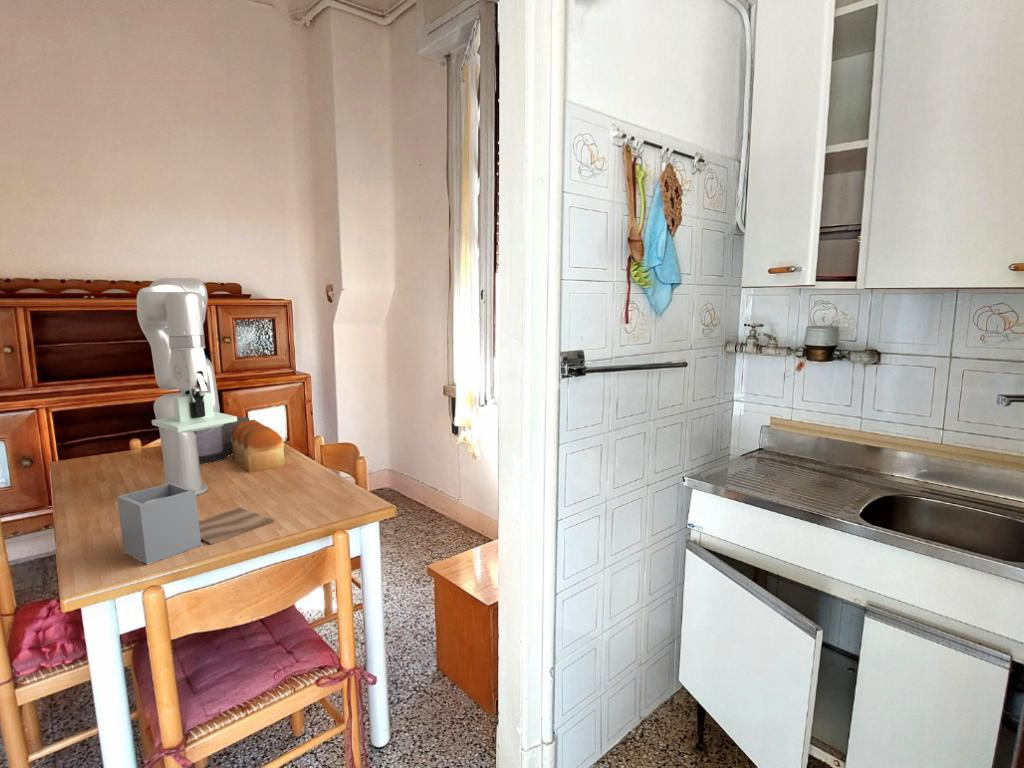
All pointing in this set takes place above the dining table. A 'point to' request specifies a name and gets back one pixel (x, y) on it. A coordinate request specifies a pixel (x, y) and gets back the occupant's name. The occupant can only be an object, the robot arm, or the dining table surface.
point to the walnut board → (230, 524)
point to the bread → (256, 446)
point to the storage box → (159, 522)
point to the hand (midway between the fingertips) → (194, 415)
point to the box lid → (188, 424)
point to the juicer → (215, 441)
